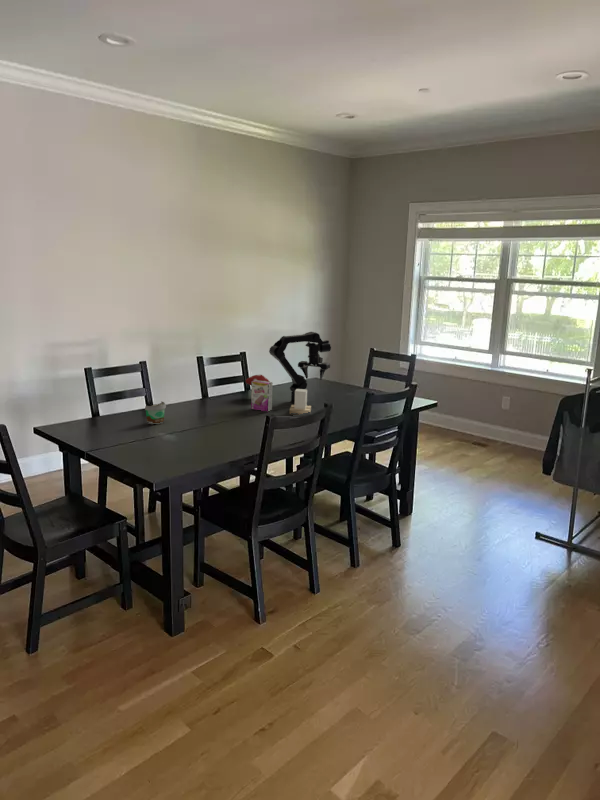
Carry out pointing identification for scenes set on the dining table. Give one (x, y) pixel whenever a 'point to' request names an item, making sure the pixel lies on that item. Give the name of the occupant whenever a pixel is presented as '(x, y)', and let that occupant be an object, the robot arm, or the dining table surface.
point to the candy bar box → (261, 395)
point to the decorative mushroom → (256, 377)
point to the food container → (155, 413)
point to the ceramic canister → (300, 399)
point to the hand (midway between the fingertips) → (314, 379)
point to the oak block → (300, 410)
